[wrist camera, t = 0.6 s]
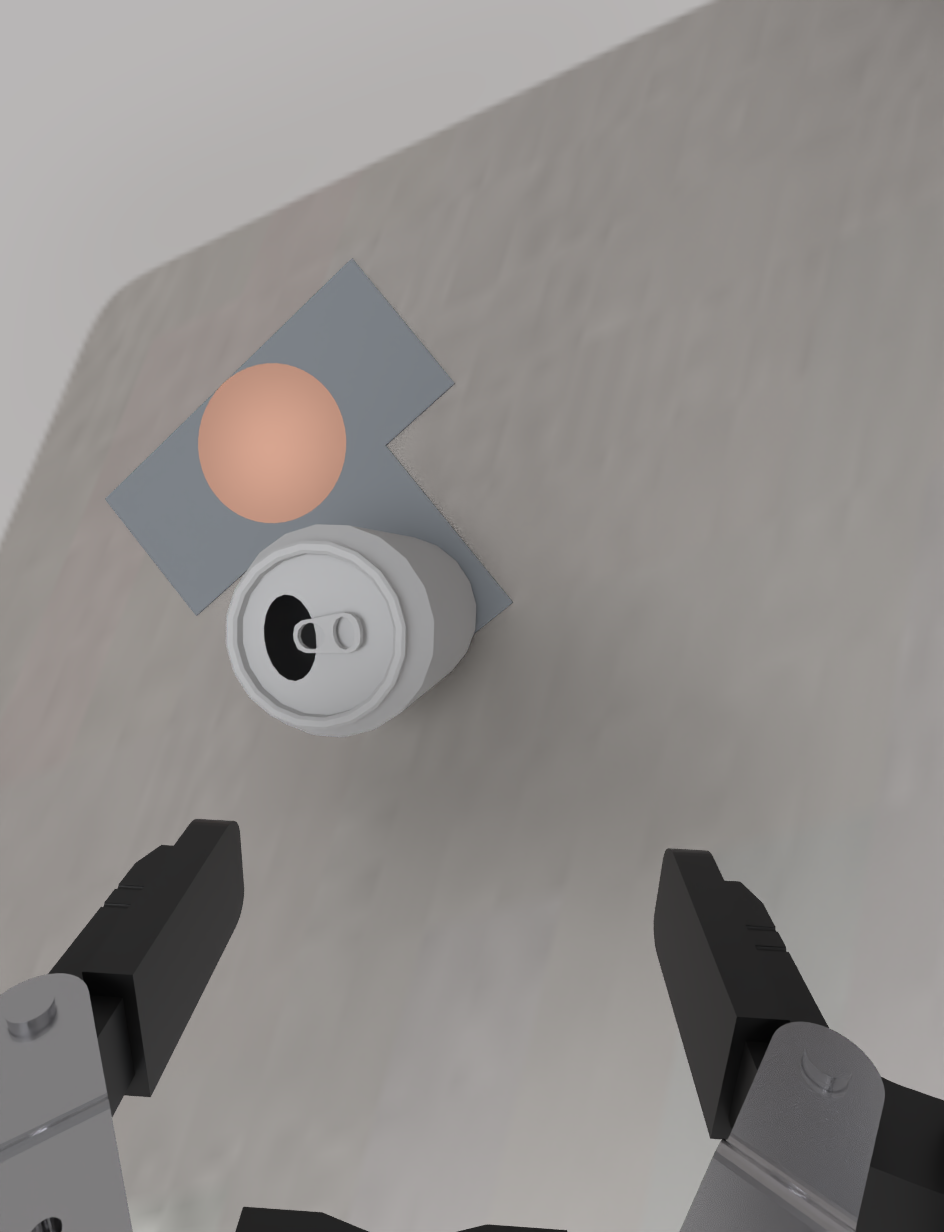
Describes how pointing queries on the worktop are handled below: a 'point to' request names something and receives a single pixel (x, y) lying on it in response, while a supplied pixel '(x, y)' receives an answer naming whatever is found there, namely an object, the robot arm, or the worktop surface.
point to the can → (347, 626)
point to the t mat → (298, 450)
